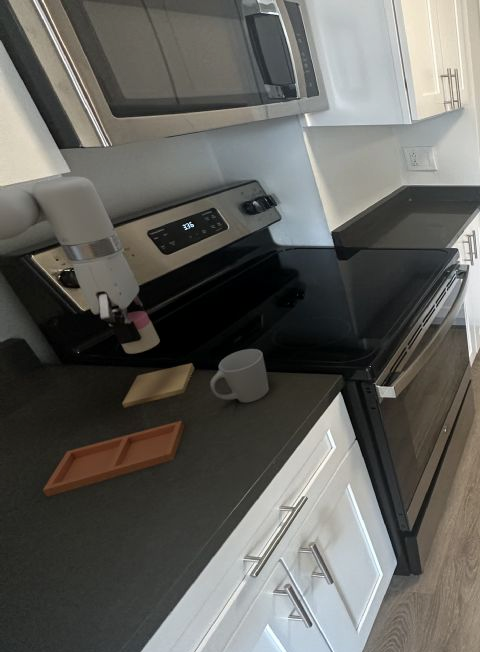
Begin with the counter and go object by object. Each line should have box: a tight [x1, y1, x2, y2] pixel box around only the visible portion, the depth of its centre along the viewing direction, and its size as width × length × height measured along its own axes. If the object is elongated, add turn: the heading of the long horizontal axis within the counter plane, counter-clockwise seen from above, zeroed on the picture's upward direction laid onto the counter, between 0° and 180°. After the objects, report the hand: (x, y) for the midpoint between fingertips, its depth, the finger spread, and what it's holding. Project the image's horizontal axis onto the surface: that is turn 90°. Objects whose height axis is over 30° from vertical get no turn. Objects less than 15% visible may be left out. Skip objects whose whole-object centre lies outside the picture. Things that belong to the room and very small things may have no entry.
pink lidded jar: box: [120, 311, 161, 355], centre depth 85 cm, size 6×6×6 cm
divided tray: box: [42, 420, 185, 498], centre depth 72 cm, size 16×9×2 cm, turn 115°
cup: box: [210, 348, 270, 403], centre depth 85 cm, size 8×10×8 cm
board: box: [122, 362, 195, 408], centre depth 90 cm, size 10×10×2 cm
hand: (136, 332), depth 85 cm, fingers closed on pink lidded jar, 5 cm apart
